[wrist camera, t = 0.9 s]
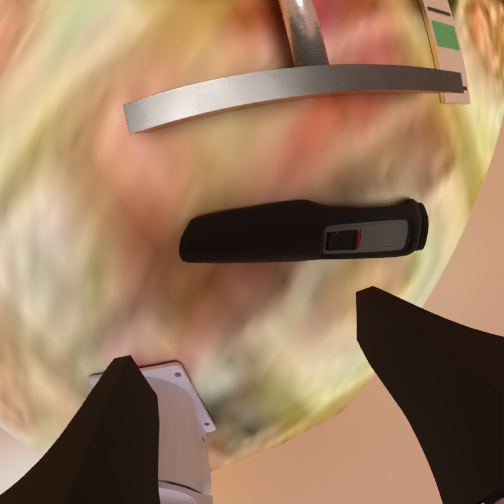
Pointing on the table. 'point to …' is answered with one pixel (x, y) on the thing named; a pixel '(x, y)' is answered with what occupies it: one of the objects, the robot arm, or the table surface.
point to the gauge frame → (445, 45)
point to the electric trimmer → (304, 233)
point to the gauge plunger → (286, 80)
